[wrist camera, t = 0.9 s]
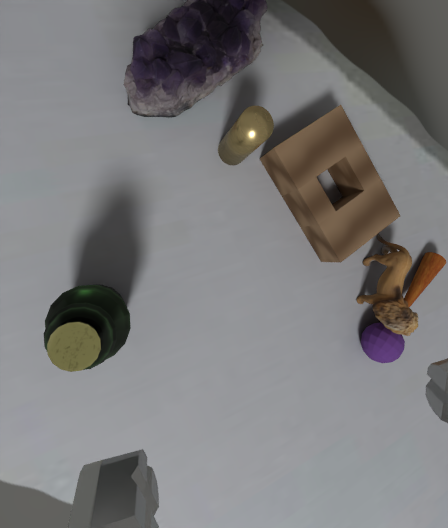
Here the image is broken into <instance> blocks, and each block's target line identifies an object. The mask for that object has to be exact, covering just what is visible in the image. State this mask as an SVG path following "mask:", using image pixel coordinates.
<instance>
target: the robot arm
mask: <svg viewBox="0 0 448 528" xmlns="http://www.w3.org/2000/svg"><path fill="white" fill-rule="evenodd" d="M427 375H428V376H429V377H430V378H431V380H430V381H429V382H428V384H427V385H426V397H427V400H428V403H429V405H430V407H431V408H432V410H433V411H434V413H435V414H436V415H437V416H438V417H439V418H440V419H441V420H442V421H445V422H447V423H448V359H445V360H441V361H438V362H435V363H432V364H430V366H429V367H428V371H427ZM158 507H159V494H158V486H157V480H156V476H155V473H154V471H153V469H152V467H149V466H147V456H146V454H145V452H144V450H143V449H142V450H138V451H135V452H131V453H127V454H123V455H120V456H116V457H112V458H108V459H104V460H101V461H97V462H94V463H90V464H87V465H84V466H83V468H82V470H81V472H80V475H79V479H78V483H77V488H76V492H75V497H74V501H73V506H72V510H71V514H70V519H69V523H68V528H159V526H158V524H157V522H156V520H155V518H154V515H155V513H156V511H157V509H158Z"/></svg>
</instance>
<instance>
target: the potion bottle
mask: <svg viewBox="0 0 448 528" xmlns="http://www.w3.org/2000/svg"><path fill="white" fill-rule="evenodd" d="M45 328H46V329H45V332H44V344H45V349H46V350H47V352H48V356H49V358H50V360H51V361H52V363H53V364H54V365H56V366H57V367H58V368H60V369H62V370H66V371H70V372H72V371H80V370H85V369H91V368H93V367H95V366H97V365H99V364H101V363H102V362H104V361H105V360H106V359H108V358H110V357H112V356H114V355H115V354H116V353H117V352H118V351H119V349H120V348H121V347H122V346H123V345H124V344H125V342H126V339H127V337H128V334H129V331H130V313H129V311H128V309H127V307H126V305H125V303H124V301H123V299H122V298H121V296H120V294H118V293H117V292H116V291H115V290H114V289H113V288H110V287H107V286H103V285H86V286H77V287H75V288H73V289H71V290H68V291H66V292H64V293H62V294H61V295H60V296H59V297H58V299H57V300H56V301H55V302H54V303H53V304H52V305H51V306H50V309H49V312H48V314H47V317H46V320H45Z"/></svg>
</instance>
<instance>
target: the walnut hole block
mask: <svg viewBox="0 0 448 528" xmlns="http://www.w3.org/2000/svg"><path fill="white" fill-rule="evenodd" d="M260 160H261V162H262V164H263V165H264V167H265V169H266V170H267V172H268V174H269V175H270V177H271V179H272V180H273V182H274V184H275V185H276V187H277V189H278V190H279V192H280V194H281V195H282V197H283V199H284V200H285V202H286V204H287V205H288V207H289V209H290V210H291V212H292V214H293V215H294V217H295V219H296V220H297V222H298V224H299V225H300V227H301V229H302V230H303V232H304V234H305V235H306V237H307V239H308V240H309V242H310V244H311V246H312V247H313V249H314V251H315V252H316V254H317V256H318V257H319V259H320V261H321V262H342V261H343V260H344V259H346V258H347V257H348V256H350V255H351V254H352V253H353V252H355V251H356V250H357V249H359V248H360V247H361V246H362V245H364V244H365V243H366V242H368V241H369V240H370V239H371V238H373V237H374V236H375V235H377V234H378V233H379V232H380V231H382V230H383V229H384V228H386V227H387V226H388V225H389V224H391V223H392V222H393V221H395V220H396V219H397V218H398V217H400V214H399V212H398V210H397V208H396V206H395V205H394V203H393V201H392V199H391V197H390V195H389V193H388V192H387V190H386V188H385V186H384V184H383V182H382V180H381V179H380V177H379V175H378V173H377V171H376V169H375V167H374V165H373V164H372V162H371V160H370V158H369V156H368V154H367V152H366V151H365V149H364V147H363V145H362V143H361V141H360V139H359V138H358V136H357V134H356V132H355V130H354V128H353V126H352V125H351V123H350V121H349V119H348V117H347V115H346V113H345V111H344V110H343V108H342V106H341V105H339V106H338V107H336V108H335V109H333V110H332V111H330V112H329V113H327V114H326V115H324V116H322V117H321V118H319V119H318V120H316V121H315V122H313V123H312V124H310V125H308V126H307V127H305V128H304V129H302V130H301V131H299V132H298V133H296V134H295V135H293V136H291V137H290V138H288V139H287V140H285V141H284V142H282V143H281V144H279V145H277V146H276V147H274V148H273V149H272V150H270V151H269V152H268V153H267V154H265V155H264V156H263V157H261V158H260ZM327 169H328V171H329V173H330V175H331V176H332V178H333V180H334V182H335V184H336V185H337V187H338V189H339V191H340V192H341V194H342V196H343V197H342V198H341V199H339V200H338V201H336V202H335V203H334V204H331V202H330V200H329V199H328V197H327V195H326V193H325V192H324V190H323V188H322V186H321V185H320V183H319V181H318V179H317V178H316V177H317V176H318V175H320V174H321V173H322V172H324V171H325V170H327Z"/></svg>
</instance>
